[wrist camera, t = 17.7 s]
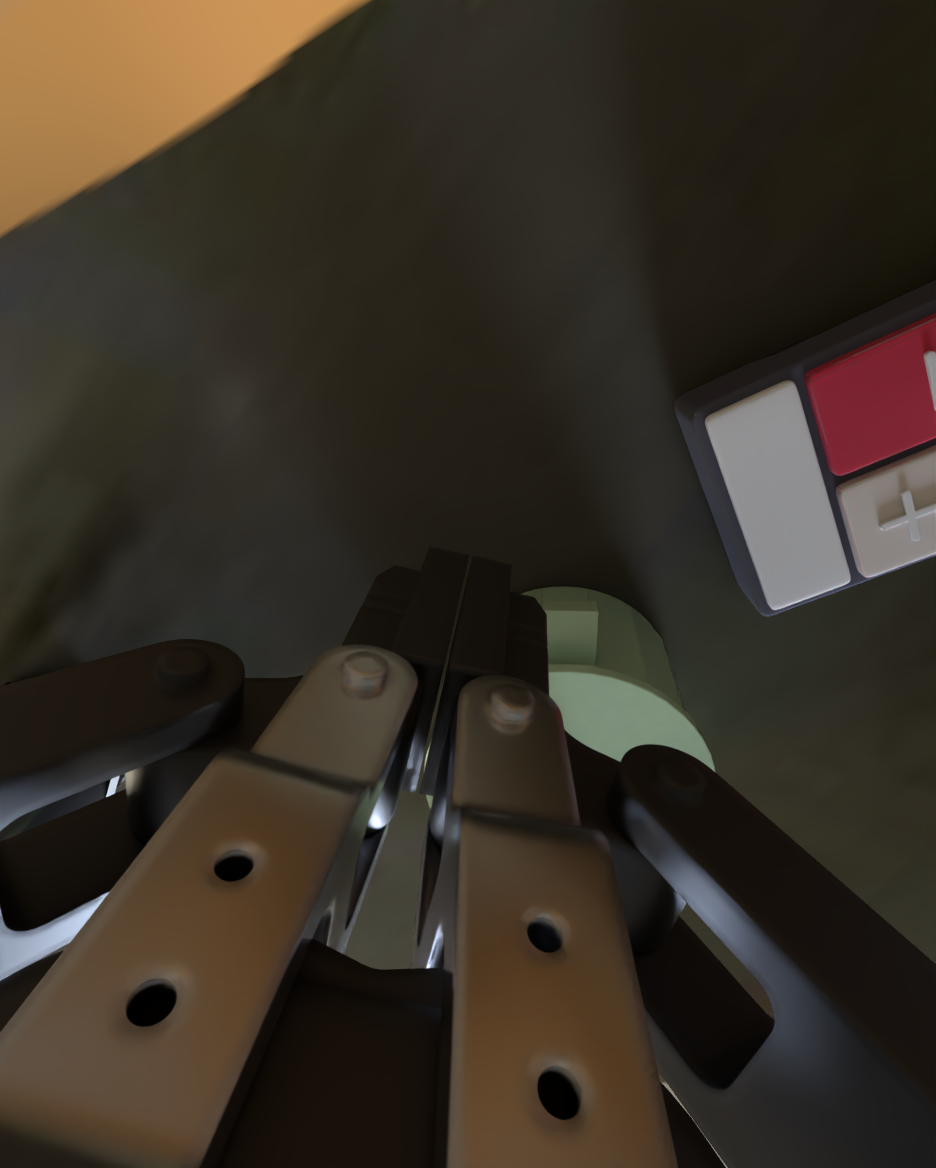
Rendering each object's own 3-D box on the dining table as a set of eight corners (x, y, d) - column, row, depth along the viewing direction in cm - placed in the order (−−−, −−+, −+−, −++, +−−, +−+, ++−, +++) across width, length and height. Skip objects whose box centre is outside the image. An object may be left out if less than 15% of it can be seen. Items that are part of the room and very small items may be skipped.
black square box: (1132, 496, 26) (768, 628, 30) (1052, 469, 30) (738, 589, 34) (1106, 226, 22) (692, 415, 26) (1019, 235, 26) (669, 399, 30)
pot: (464, 787, 43) (446, 899, 35) (449, 540, 35) (422, 616, 27) (656, 797, 41) (680, 916, 34) (687, 541, 33) (728, 622, 26)
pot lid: (436, 862, 35) (421, 943, 31) (417, 651, 29) (395, 717, 25) (693, 879, 33) (713, 967, 29) (729, 659, 27) (762, 731, 23)
